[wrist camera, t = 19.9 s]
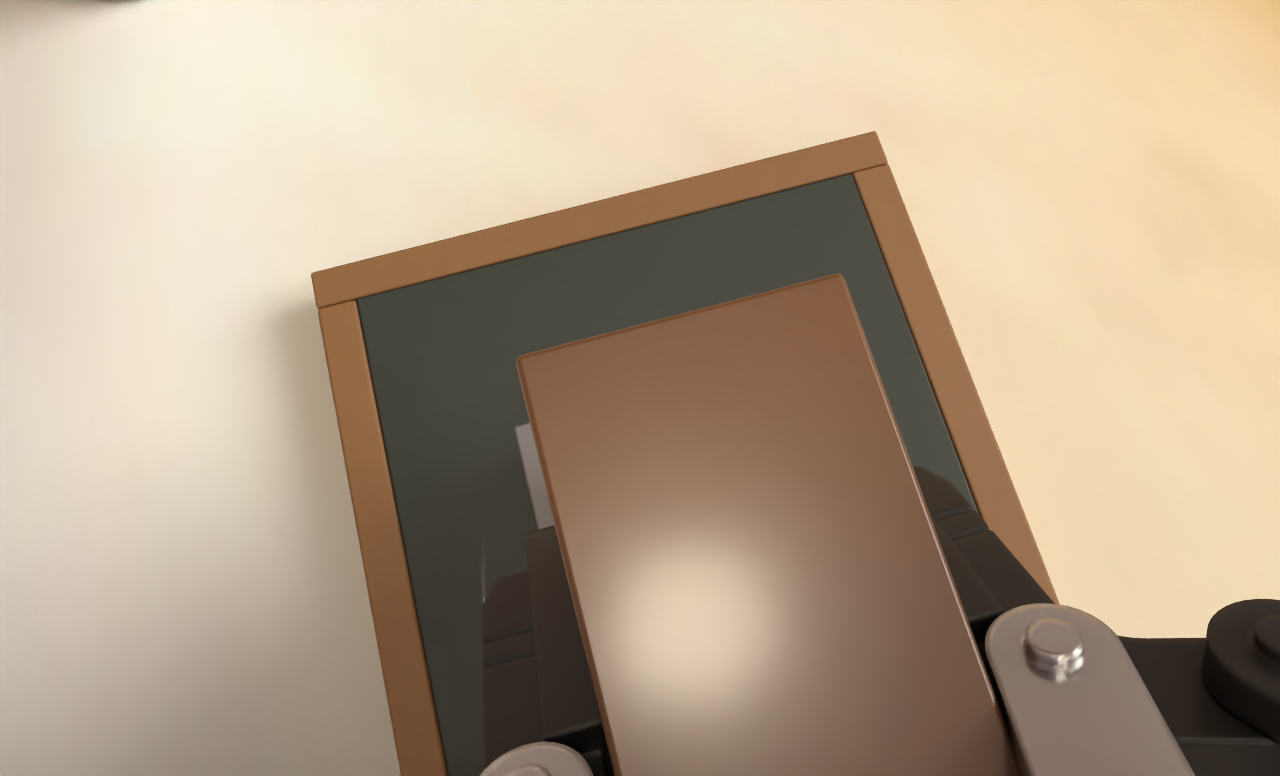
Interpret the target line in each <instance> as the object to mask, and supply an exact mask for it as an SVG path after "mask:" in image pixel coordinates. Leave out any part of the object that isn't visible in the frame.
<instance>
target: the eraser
mask: <svg viewBox="0 0 1280 776" xmlns="http://www.w3.org/2000/svg"><path fill="white" fill-rule="evenodd" d="M516 367H517V371H518V375H519V379H520V383H521V388H522V392H523V396H524V400H525V404H526V408H527V413H528V417H529V421H530V423H527V424H523V425H520V426H516V427H515V429H514V430H515V435H516V439H517V443H518V448H519V452H520V456H521V460H522V465H523V469H524V473H525V478H526V482H527V486H528V490H529V495H530V499H531V503H532V508H533V512H534V516H535V520H536V525H537V529H542V528H546V527H549V526H553V525H555V530H556V534H557V538H558V542H559V546H560V551H561V555H562V559H563V563H564V567H565V571H566V576H567V580H568V584H569V588H570V592H571V597H572V601H573V605H574V609H575V613H576V617H577V622H578V626H579V630H580V634H581V638H582V643H583V647H584V651H585V655H586V659H587V663H588V668H589V672H590V676H591V680H592V684H593V689H594V693H595V697H596V701H597V705H598V709H599V714H600V718H601V722H602V726H603V730H604V734H605V739H606V743H607V747H608V751H609V755H610V760H611V764H612V768H613V772H614V776H1019V774H1018V770H1017V766H1016V761H1015V757H1014V752H1013V747H1012V743H1011V739H1010V736H1009V733H1008V730H1007V727H1006V724H1005V721H1004V719H1003V716H1002V713H1001V710H1000V708H999V705H998V702H997V699H996V696H995V694H994V691H993V688H992V685H991V683H990V680H989V677H988V674H987V672H986V669H985V666H984V663H983V661H982V658H981V655H980V652H979V649H978V647H977V644H976V641H975V638H974V636H973V633H972V630H971V627H970V625H969V622H968V619H967V616H966V614H965V611H964V608H963V605H962V602H961V600H960V597H959V594H958V591H957V589H956V586H955V583H954V580H953V578H952V575H951V572H950V569H949V566H948V564H947V561H946V558H945V555H944V553H943V550H942V547H941V544H940V542H939V539H938V536H937V533H936V531H935V528H934V525H933V522H932V519H931V517H930V514H929V511H928V508H927V506H926V503H925V500H924V497H923V495H922V492H921V489H920V486H919V484H918V481H917V478H916V475H915V472H914V470H913V467H912V464H911V461H910V459H909V456H908V453H907V450H906V448H905V445H904V442H903V439H902V437H901V434H900V431H899V428H898V425H897V423H896V420H895V417H894V414H893V412H892V409H891V406H890V403H889V401H888V398H887V395H886V392H885V390H884V387H883V384H882V381H881V378H880V376H879V373H878V370H877V367H876V365H875V362H874V359H873V356H872V354H871V351H870V348H869V345H868V343H867V340H866V337H865V334H864V331H863V329H862V326H861V323H860V320H859V318H858V315H857V312H856V309H855V307H854V304H853V301H852V298H851V296H850V293H849V290H848V287H847V284H846V282H845V279H844V277H843V276H842V275H841V274H833V275H829V276H825V277H821V278H817V279H813V280H809V281H806V282H802V283H798V284H794V285H790V286H786V287H782V288H779V289H775V290H771V291H767V292H763V293H759V294H755V295H752V296H748V297H744V298H740V299H736V300H732V301H728V302H725V303H721V304H717V305H713V306H709V307H705V308H701V309H698V310H694V311H690V312H686V313H682V314H678V315H674V316H671V317H667V318H663V319H659V320H655V321H651V322H647V323H644V324H640V325H636V326H632V327H628V328H624V329H620V330H616V331H613V332H609V333H605V334H601V335H597V336H593V337H589V338H586V339H582V340H578V341H574V342H570V343H566V344H562V345H559V346H555V347H551V348H547V349H543V350H539V351H535V352H532V353H528V354H524V355H521V356H519V357H518V358H517V360H516Z"/></svg>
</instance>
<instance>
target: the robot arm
mask: <svg viewBox="0 0 1280 776" xmlns="http://www.w3.org/2000/svg"><path fill="white" fill-rule="evenodd" d="M913 470H914V472H915V475H916V478H917V481H918V484H919V486H920V489H921V492H922V495H923V497H924V500H925V503H926V506H927V508H928V511H929V514H930V517H931V519H932V522H933V525H934V528H935V531H936V533H937V536H938V539H939V542H940V544H941V547H942V550H943V553H944V555H945V558H946V561H947V564H948V566H949V569H950V572H951V575H952V578H953V580H954V583H955V586H956V589H957V591H958V594H959V597H960V600H961V602H962V605H963V608H964V611H965V614H966V616H967V619H968V622H969V625H970V627H971V630H972V633H973V636H974V638H975V641H976V644H977V647H978V649H979V652H980V655H981V658H982V661H983V663H984V666H985V669H986V672H987V674H988V677H989V680H990V683H991V685H992V688H993V691H994V694H995V696H996V699H997V702H998V705H999V708H1000V710H1001V713H1002V716H1003V719H1004V721H1005V724H1006V727H1007V730H1008V733H1009V736H1010V739H1011V743H1012V747H1013V752H1014V757H1015V761H1016V766H1017V770H1018V774H1019V776H1280V600H1273V599H1253V600H1244V601H1240V602H1235V603H1233V604H1230V605H1228V606H1225V607H1224V608H1222V609H1221V610H1219V611H1218V612H1217V613H1216V614H1215V615H1214V616H1213V617H1212V618H1211V620H1210V622H1209V624H1208V629H1207V635H1206V638H1150V639H1146V638H1130V637H1123V636H1117V635H1116V634H1115V633H1114V632H1113V631H1112V630H1111V629H1110V628H1109V627H1108V626H1107V625H1106V624H1104V623H1103V622H1102V621H1100V620H1099V619H1097V618H1096V617H1094V616H1092V615H1090V614H1088V613H1086V612H1083V611H1081V610H1079V609H1075V608H1072V607H1069V606H1064V605H1058V604H1055V603H1054V602H1053V601H1052V600H1051V598H1050V597H1049V596H1048V595H1047V594H1046V593H1045V591H1044V590H1043V589H1042V588H1041V587H1040V586H1039V584H1038V583H1037V582H1036V581H1035V580H1034V579H1033V577H1032V576H1031V575H1030V574H1029V573H1028V572H1027V570H1026V569H1025V568H1024V567H1023V566H1022V564H1021V563H1020V562H1019V561H1018V560H1017V559H1016V557H1015V556H1014V555H1013V554H1012V553H1011V552H1010V550H1009V549H1008V548H1007V547H1006V546H1005V545H1004V543H1003V542H1002V541H1001V540H1000V539H999V537H998V536H997V535H996V534H995V533H994V532H993V530H991V531H990V530H989V528H988V525H987V523H986V522H985V521H984V520H983V519H982V518H981V516H980V515H979V514H978V513H977V512H976V511H973V510H972V507H971V505H970V503H969V502H968V501H967V500H966V499H965V498H964V496H963V495H962V494H961V493H960V492H959V491H958V489H957V488H956V487H955V486H954V485H953V484H952V482H950V481H948V480H946V479H944V478H943V477H941V476H939V475H937V474H935V473H933V472H931V471H929V470H927V469H925V468H924V467H922V466H920V465H919V466H915V467H913ZM525 542H526V553H527V564H528V571H524V572H520V573H516V574H513V575H509V576H505V577H502V578H498V579H496V581H495V583H494V585H493V587H492V589H491V591H490V593H489V595H488V597H487V599H486V601H485V603H484V605H483V607H482V639H483V644H482V651H483V666H484V669H483V703H484V756H485V762H484V771H483V772H482V774H481V775H480V776H614V772H613V768H612V764H611V760H610V755H609V751H608V747H607V743H606V739H605V734H604V730H603V726H602V722H601V718H600V714H599V709H598V705H597V701H596V697H595V693H594V689H593V684H592V680H591V676H590V672H589V668H588V663H587V659H586V655H585V651H584V647H583V643H582V638H581V634H580V630H579V626H578V622H577V617H576V613H575V609H574V605H573V601H572V597H571V592H570V588H569V584H568V580H567V576H566V571H565V567H564V563H563V559H562V555H561V551H560V546H559V542H558V538H557V534H556V530H555V525H553V526H549V527H546V528H542V529H538V530H534V531H531V532H527V533H525Z"/></svg>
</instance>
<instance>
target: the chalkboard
mask: <svg viewBox="0 0 1280 776" xmlns="http://www.w3.org/2000/svg"><path fill="white" fill-rule="evenodd" d="M833 274H841V275H842V276H843V277H844V279H845V282H846V284H847V287H848V290H849V293H850V296H851V298H852V301H853V304H854V307H855V309H856V312H857V315H858V318H859V320H860V323H861V326H862V329H863V331H864V334H865V337H866V340H867V343H868V345H869V348H870V351H871V354H872V356H873V359H874V362H875V365H876V367H877V370H878V373H879V376H880V378H881V381H882V384H883V387H884V390H885V392H886V395H887V398H888V401H889V403H890V406H891V409H892V412H893V414H894V417H895V420H896V423H897V425H898V428H899V431H900V434H901V437H902V439H903V442H904V445H905V448H906V450H907V453H908V456H909V459H910V461H911V464H912V467H915V466H919V465H920V466H922V467H924V468H925V469H927V470H929V471H931V472H933V473H935V474H937V475H939V476H941V477H943V478H944V479H946V480H948V481H950V482H952V484H953V485H954V486H955V487H956V488H957V489H958V491H959V492H960V493H961V494H962V495H963V496H964V498H965V499H966V500H967V501H968V502H969V503H970V505H971V507H972V510H973V511H976V512H977V513H978V514H979V515H980V516H981V518H982V519H983V520H984V521H985V522H986V523H987V525H988V528H989V530H990V531H991V530H993V532H994V533H995V534H996V535H997V536H998V537H999V539H1000V540H1001V541H1002V542H1003V543H1004V545H1005V546H1006V547H1007V548H1008V549H1009V550H1010V552H1011V553H1012V554H1013V555H1014V556H1015V557H1016V559H1017V560H1018V561H1019V562H1020V563H1021V564H1022V566H1023V567H1024V568H1025V569H1026V570H1027V572H1028V573H1029V574H1030V575H1031V576H1032V577H1033V579H1034V580H1035V581H1036V582H1037V583H1038V584H1039V586H1040V587H1041V588H1042V589H1043V590H1044V591H1045V593H1046V594H1047V595H1048V596H1049V597H1050V598H1051V600H1052V601H1053V602H1054V603H1055V604H1058V605H1060V604H1059V601H1058V599H1057V596H1056V594H1055V591H1054V588H1053V586H1052V583H1051V581H1050V578H1049V576H1048V573H1047V570H1046V568H1045V565H1044V563H1043V560H1042V558H1041V555H1040V552H1039V550H1038V547H1037V545H1036V542H1035V540H1034V537H1033V534H1032V532H1031V529H1030V527H1029V524H1028V522H1027V519H1026V516H1025V514H1024V511H1023V509H1022V506H1021V504H1020V501H1019V498H1018V496H1017V493H1016V491H1015V488H1014V486H1013V483H1012V480H1011V478H1010V475H1009V473H1008V470H1007V468H1006V465H1005V462H1004V460H1003V457H1002V455H1001V452H1000V450H999V447H998V444H997V442H996V439H995V437H994V434H993V432H992V429H991V426H990V424H989V421H988V419H987V416H986V414H985V411H984V408H983V406H982V403H981V401H980V398H979V396H978V393H977V390H976V388H975V385H974V383H973V380H972V378H971V375H970V372H969V370H968V367H967V365H966V362H965V360H964V357H963V354H962V352H961V349H960V347H959V344H958V342H957V339H956V336H955V334H954V331H953V329H952V326H951V324H950V321H949V318H948V316H947V313H946V311H945V308H944V306H943V303H942V300H941V298H940V295H939V293H938V290H937V288H936V285H935V282H934V280H933V277H932V275H931V272H930V270H929V267H928V264H927V262H926V259H925V257H924V254H923V252H922V249H921V246H920V244H919V241H918V239H917V236H916V234H915V231H914V228H913V226H912V223H911V221H910V218H909V216H908V213H907V210H906V208H905V205H904V203H903V200H902V198H901V195H900V192H899V190H898V187H897V185H896V182H895V180H894V177H893V174H892V172H891V169H890V167H889V165H888V164H887V159H886V156H885V154H884V151H883V149H882V146H881V144H880V141H879V138H878V136H877V133H876V132H875V131H873V132H869V133H865V134H861V135H857V136H853V137H849V138H845V139H841V140H838V141H834V142H830V143H826V144H822V145H818V146H814V147H810V148H806V149H802V150H798V151H794V152H790V153H786V154H782V155H778V156H774V157H770V158H766V159H762V160H758V161H754V162H750V163H746V164H742V165H738V166H734V167H730V168H726V169H722V170H718V171H714V172H711V173H707V174H703V175H699V176H695V177H691V178H687V179H683V180H679V181H675V182H671V183H667V184H663V185H659V186H655V187H651V188H647V189H643V190H639V191H635V192H631V193H627V194H623V195H619V196H615V197H611V198H607V199H603V200H599V201H595V202H591V203H587V204H584V205H580V206H576V207H572V208H568V209H564V210H560V211H556V212H552V213H548V214H544V215H540V216H536V217H532V218H528V219H524V220H520V221H516V222H512V223H508V224H504V225H500V226H496V227H492V228H488V229H484V230H480V231H476V232H472V233H468V234H464V235H460V236H457V237H453V238H449V239H445V240H441V241H437V242H433V243H429V244H425V245H421V246H417V247H413V248H409V249H405V250H401V251H397V252H393V253H389V254H385V255H381V256H377V257H373V258H369V259H365V260H361V261H357V262H353V263H349V264H345V265H341V266H337V267H333V268H330V269H326V270H322V271H318V272H314V273H312V274H311V278H312V283H313V289H314V295H315V300H316V306H317V308H318V309H319V311H318V315H319V321H320V326H321V332H322V337H323V343H324V348H325V354H326V360H327V365H328V371H329V376H330V382H331V387H332V393H333V399H334V404H335V410H336V415H337V421H338V426H339V432H340V438H341V443H342V449H343V454H344V460H345V465H346V471H347V477H348V482H349V488H350V493H351V499H352V504H353V510H354V516H355V521H356V527H357V532H358V538H359V543H360V549H361V555H362V560H363V566H364V571H365V577H366V582H367V588H368V594H369V599H370V605H371V610H372V616H373V622H374V627H375V633H376V638H377V644H378V649H379V655H380V661H381V666H382V672H383V677H384V683H385V688H386V694H387V700H388V705H389V711H390V716H391V722H392V727H393V733H394V739H395V744H396V750H397V755H398V761H399V766H400V772H401V776H480V775H481V774H482V772H483V771H484V762H485V756H484V703H483V669H484V666H483V651H482V644H483V639H482V607H483V605H484V603H485V601H486V599H487V597H488V595H489V593H490V591H491V589H492V587H493V585H494V583H495V581H496V579H498V578H502V577H505V576H509V575H513V574H516V573H520V572H524V571H528V564H527V553H526V542H525V533H527V532H531V531H534V530H538V529H537V525H536V520H535V516H534V512H533V508H532V503H531V499H530V495H529V490H528V486H527V482H526V478H525V473H524V469H523V465H522V460H521V456H520V452H519V448H518V443H517V439H516V435H515V430H514V429H515V427H516V426H520V425H523V424H527V423H530V421H529V417H528V413H527V408H526V404H525V400H524V396H523V392H522V388H521V383H520V379H519V375H518V371H517V367H516V360H517V358H518V357H519V356H521V355H524V354H528V353H532V352H535V351H539V350H543V349H547V348H551V347H555V346H559V345H562V344H566V343H570V342H574V341H578V340H582V339H586V338H589V337H593V336H597V335H601V334H605V333H609V332H613V331H616V330H620V329H624V328H628V327H632V326H636V325H640V324H644V323H647V322H651V321H655V320H659V319H663V318H667V317H671V316H674V315H678V314H682V313H686V312H690V311H694V310H698V309H701V308H705V307H709V306H713V305H717V304H721V303H725V302H728V301H732V300H736V299H740V298H744V297H748V296H752V295H755V294H759V293H763V292H767V291H771V290H775V289H779V288H782V287H786V286H790V285H794V284H798V283H802V282H806V281H809V280H813V279H817V278H821V277H825V276H829V275H833Z"/></svg>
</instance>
